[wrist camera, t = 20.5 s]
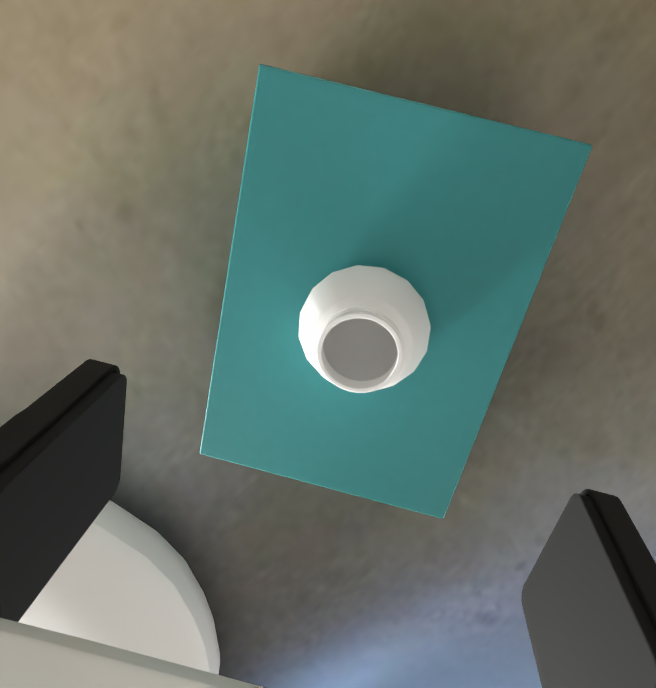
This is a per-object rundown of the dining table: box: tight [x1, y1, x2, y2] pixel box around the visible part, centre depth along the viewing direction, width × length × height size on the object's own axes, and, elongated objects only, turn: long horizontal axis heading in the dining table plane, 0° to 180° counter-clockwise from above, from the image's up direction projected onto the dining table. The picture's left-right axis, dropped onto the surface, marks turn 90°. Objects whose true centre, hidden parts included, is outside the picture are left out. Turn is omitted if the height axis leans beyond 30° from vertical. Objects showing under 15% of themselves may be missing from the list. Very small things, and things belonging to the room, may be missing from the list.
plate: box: [19, 500, 220, 675], centre depth 38 cm, size 28×6×27 cm
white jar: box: [299, 265, 431, 393], centre depth 20 cm, size 5×3×5 cm
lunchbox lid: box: [200, 64, 592, 519], centre depth 22 cm, size 16×12×1 cm
